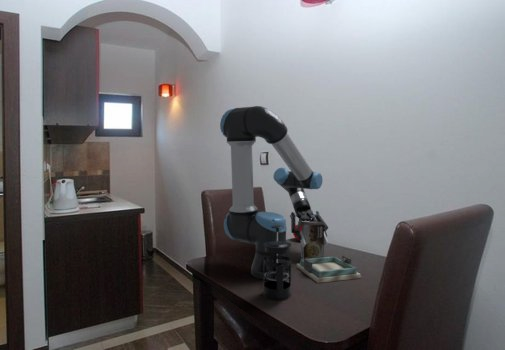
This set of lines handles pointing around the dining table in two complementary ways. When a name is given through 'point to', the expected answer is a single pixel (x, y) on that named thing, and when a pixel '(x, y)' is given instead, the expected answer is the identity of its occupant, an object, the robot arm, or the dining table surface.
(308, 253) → the coffee box
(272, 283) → the french press
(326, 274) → the tray
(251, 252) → the dining table surface
